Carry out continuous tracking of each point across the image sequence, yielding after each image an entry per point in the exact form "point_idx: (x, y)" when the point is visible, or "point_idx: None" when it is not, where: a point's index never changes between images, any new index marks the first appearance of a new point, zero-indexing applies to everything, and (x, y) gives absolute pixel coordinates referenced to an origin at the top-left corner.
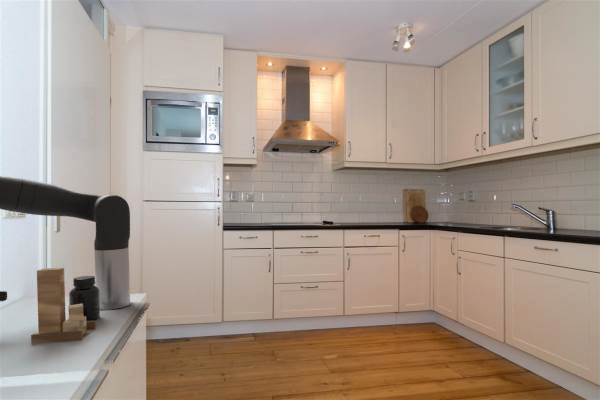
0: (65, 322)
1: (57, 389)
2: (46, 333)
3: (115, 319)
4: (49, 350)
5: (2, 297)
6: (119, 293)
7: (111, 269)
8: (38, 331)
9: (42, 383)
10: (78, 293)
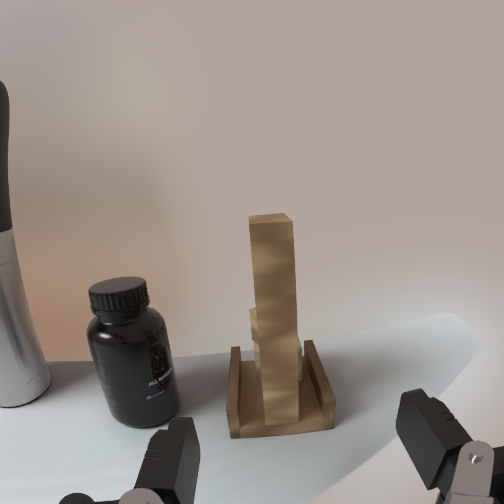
0: (299, 345)
1: (450, 319)
2: (322, 380)
3: None
4: (338, 395)
5: (196, 446)
6: (39, 342)
7: (19, 285)
8: (298, 406)
9: (448, 335)
10: (161, 322)
